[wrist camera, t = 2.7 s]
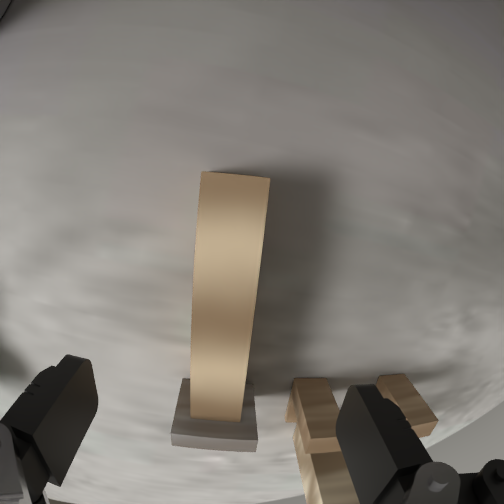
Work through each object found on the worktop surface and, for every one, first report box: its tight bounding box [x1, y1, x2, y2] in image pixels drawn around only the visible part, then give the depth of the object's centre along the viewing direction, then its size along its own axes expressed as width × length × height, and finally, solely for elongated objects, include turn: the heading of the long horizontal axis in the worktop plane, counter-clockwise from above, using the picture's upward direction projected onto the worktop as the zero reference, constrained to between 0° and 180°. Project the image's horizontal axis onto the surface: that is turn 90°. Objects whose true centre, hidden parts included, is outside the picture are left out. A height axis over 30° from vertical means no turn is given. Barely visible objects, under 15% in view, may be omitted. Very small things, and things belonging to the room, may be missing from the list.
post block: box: [285, 374, 439, 504], centre depth 16 cm, size 7×9×12 cm
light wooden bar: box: [171, 172, 270, 452], centre depth 16 cm, size 15×5×6 cm, turn 174°
